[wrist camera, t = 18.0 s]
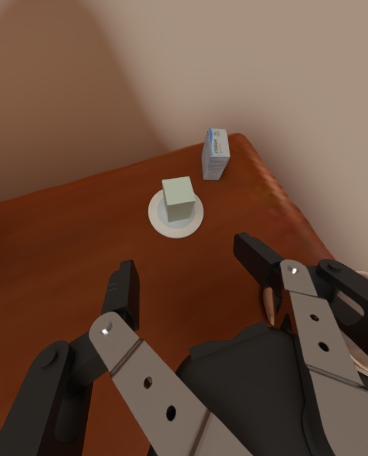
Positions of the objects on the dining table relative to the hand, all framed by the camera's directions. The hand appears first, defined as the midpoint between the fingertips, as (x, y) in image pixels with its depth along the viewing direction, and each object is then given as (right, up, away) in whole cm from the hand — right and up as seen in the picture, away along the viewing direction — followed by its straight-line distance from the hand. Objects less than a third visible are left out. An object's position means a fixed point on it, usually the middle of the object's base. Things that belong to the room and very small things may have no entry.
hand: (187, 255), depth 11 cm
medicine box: (+7, +19, +29) cm, 35 cm away
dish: (-2, +6, +24) cm, 25 cm away
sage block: (-2, +6, +23) cm, 24 cm away
